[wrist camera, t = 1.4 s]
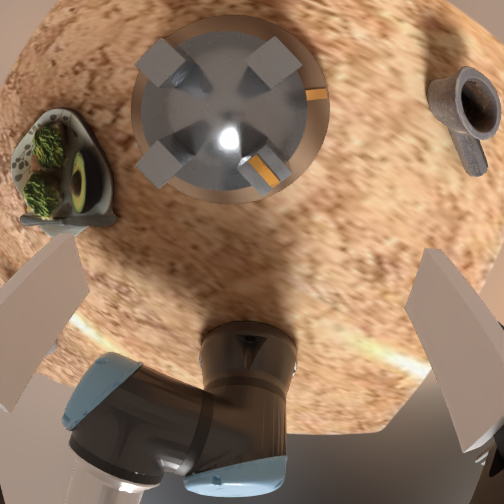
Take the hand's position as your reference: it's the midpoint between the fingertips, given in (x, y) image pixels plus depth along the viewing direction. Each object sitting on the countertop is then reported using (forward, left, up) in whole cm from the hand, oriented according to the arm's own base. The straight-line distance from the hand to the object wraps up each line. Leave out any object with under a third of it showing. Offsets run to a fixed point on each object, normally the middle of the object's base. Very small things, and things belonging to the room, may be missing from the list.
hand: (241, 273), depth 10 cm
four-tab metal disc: (0, +6, -21) cm, 22 cm away
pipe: (+20, -10, -23) cm, 32 cm away
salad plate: (-21, +16, -24) cm, 35 cm away
